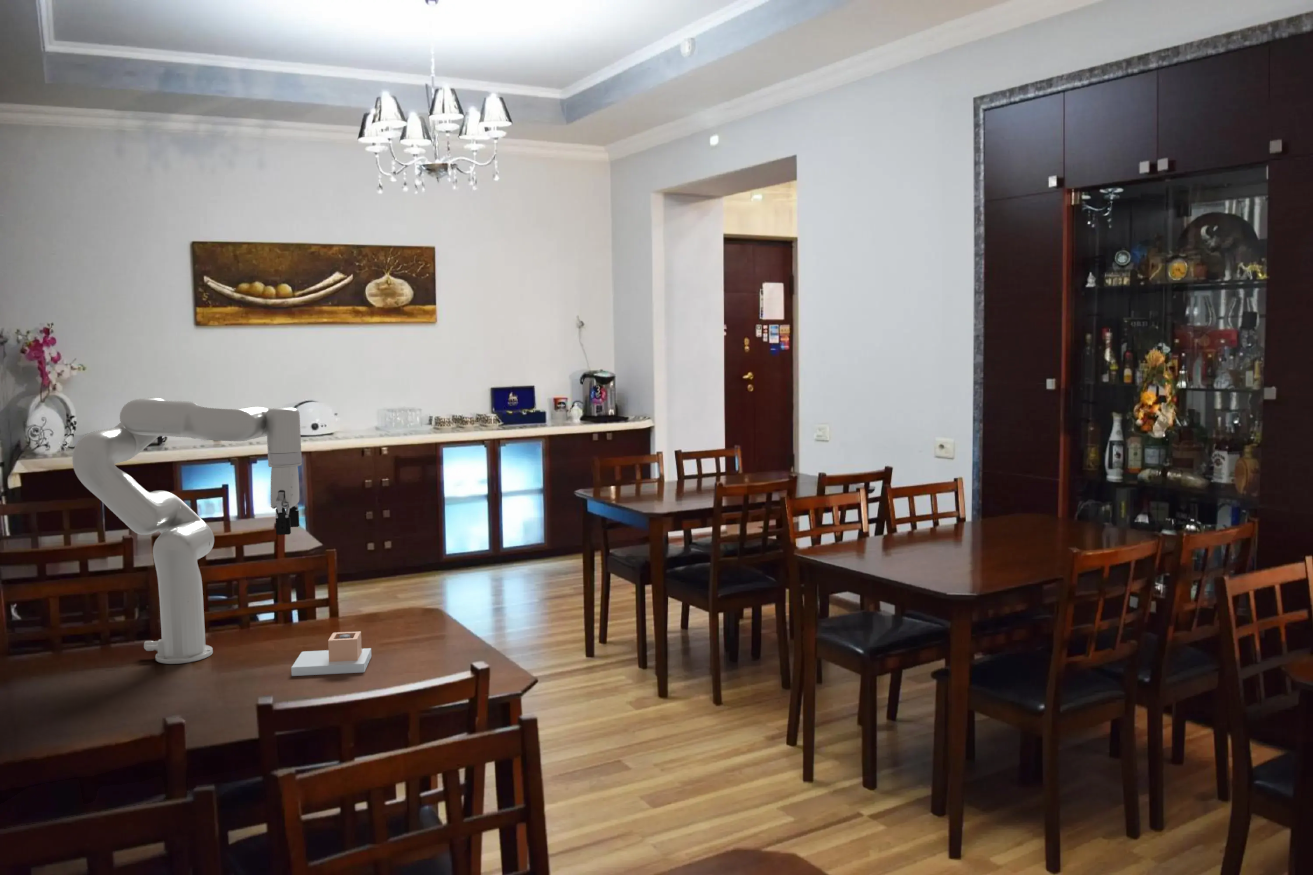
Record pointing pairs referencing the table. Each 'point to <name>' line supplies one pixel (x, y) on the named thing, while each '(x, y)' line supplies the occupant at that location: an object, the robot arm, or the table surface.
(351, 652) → the collar
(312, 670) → the post plate
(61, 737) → the table surface
